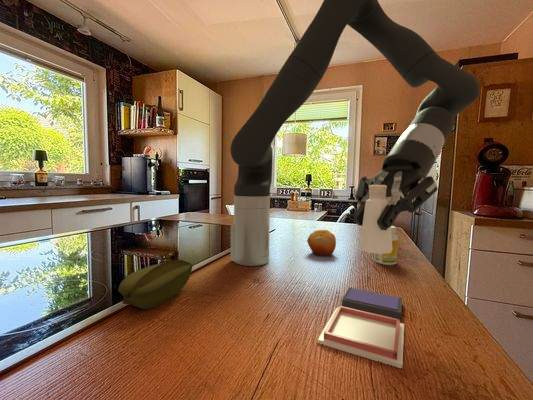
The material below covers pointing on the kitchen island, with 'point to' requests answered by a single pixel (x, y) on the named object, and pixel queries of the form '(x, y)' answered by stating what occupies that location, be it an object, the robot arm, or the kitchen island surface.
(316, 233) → the fruit
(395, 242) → the supplement bottle
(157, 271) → the fruit
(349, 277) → the kitchen island surface
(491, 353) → the kitchen island surface
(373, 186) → the pepper shaker
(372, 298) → the ink pad
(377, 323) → the pink and white tray
